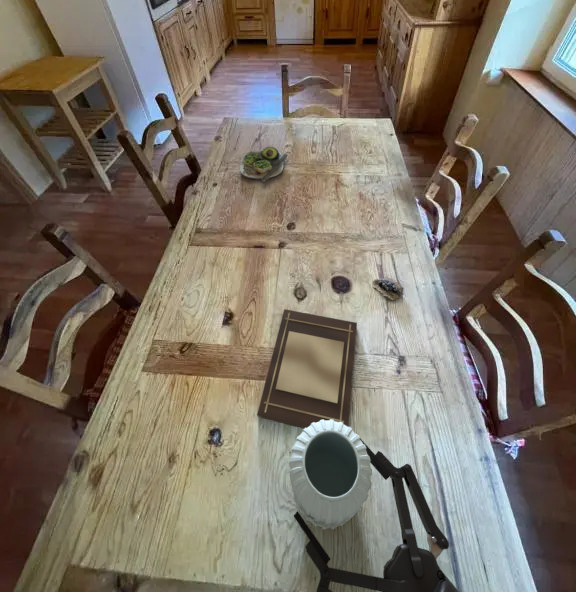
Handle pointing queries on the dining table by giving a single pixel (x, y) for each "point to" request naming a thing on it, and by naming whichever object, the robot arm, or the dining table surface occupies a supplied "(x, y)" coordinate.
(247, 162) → the avocado toast plate
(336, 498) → the vase
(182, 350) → the dining table surface
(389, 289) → the brown flat lumpy piece
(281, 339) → the picture frame
